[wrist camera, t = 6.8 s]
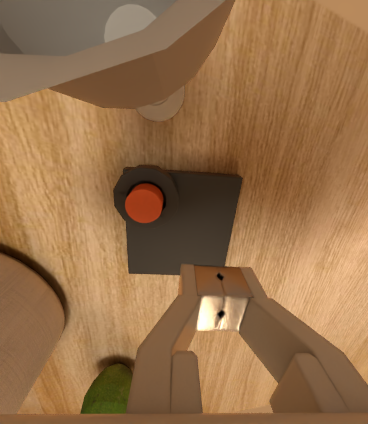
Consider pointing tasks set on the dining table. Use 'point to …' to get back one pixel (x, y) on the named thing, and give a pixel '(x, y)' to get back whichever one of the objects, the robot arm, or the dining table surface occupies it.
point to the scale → (179, 219)
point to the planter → (25, 330)
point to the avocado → (109, 391)
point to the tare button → (144, 203)
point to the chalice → (108, 50)
